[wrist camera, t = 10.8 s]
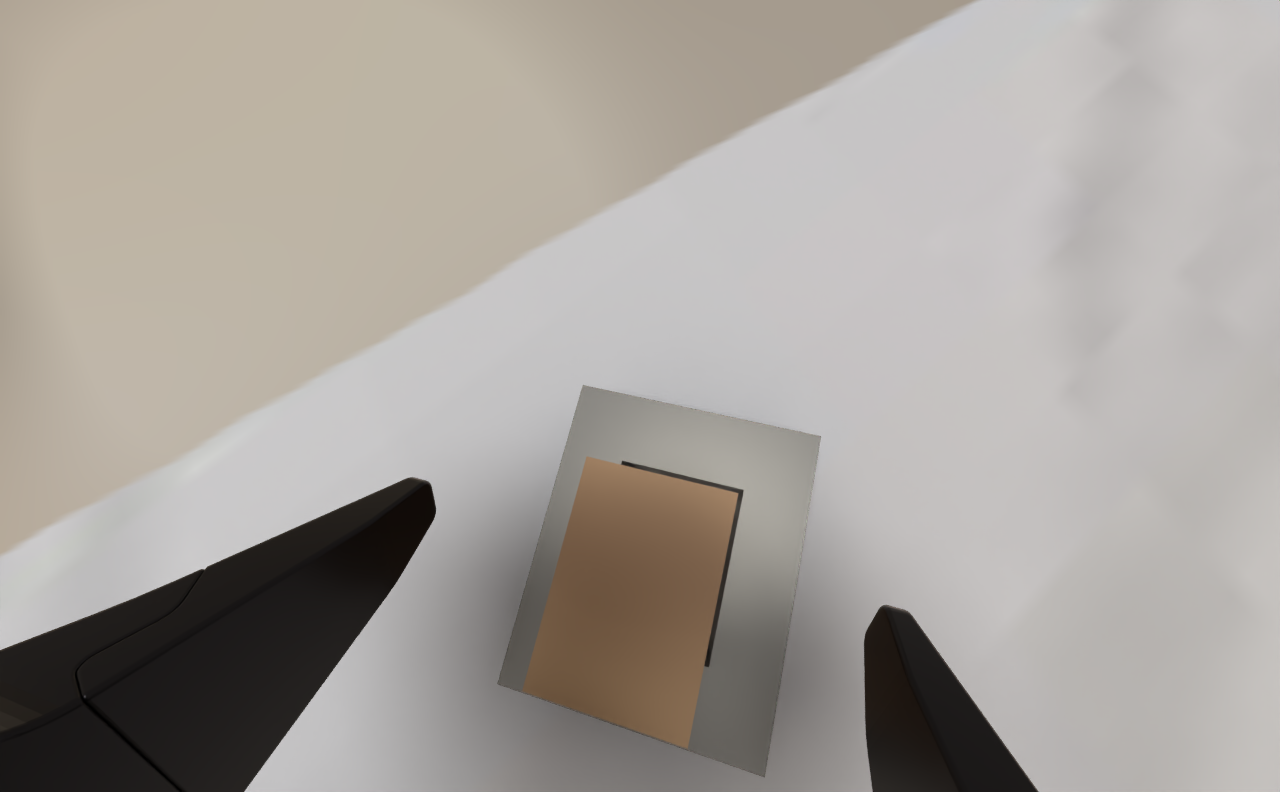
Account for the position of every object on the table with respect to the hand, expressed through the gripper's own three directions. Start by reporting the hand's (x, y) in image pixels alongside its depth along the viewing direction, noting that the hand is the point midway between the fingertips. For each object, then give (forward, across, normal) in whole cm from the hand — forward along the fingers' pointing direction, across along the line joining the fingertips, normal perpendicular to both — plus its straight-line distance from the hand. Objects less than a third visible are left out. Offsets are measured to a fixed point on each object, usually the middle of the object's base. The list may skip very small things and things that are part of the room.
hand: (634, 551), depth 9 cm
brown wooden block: (+9, 0, +10) cm, 14 cm away
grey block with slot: (+9, 0, +10) cm, 14 cm away
